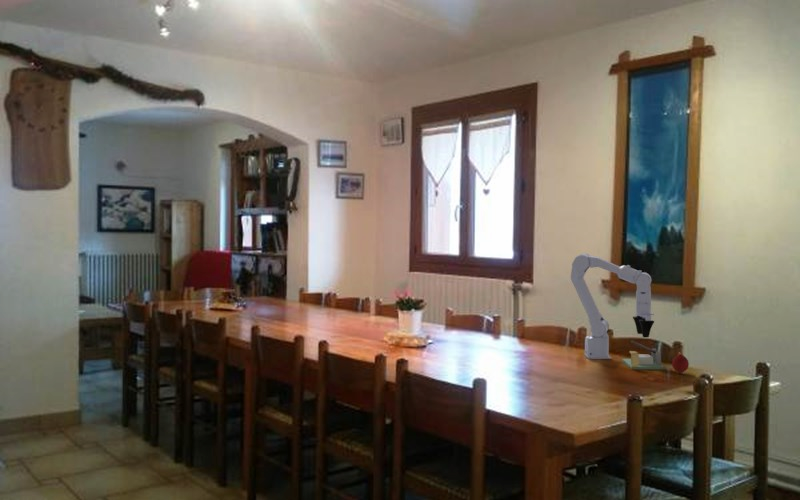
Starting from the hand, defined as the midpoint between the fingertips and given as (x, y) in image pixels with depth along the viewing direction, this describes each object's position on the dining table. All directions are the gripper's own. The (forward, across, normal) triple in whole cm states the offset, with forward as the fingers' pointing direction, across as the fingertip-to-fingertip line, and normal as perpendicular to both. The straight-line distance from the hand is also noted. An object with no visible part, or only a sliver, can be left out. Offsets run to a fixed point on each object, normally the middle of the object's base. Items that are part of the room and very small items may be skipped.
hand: (643, 335), depth 276 cm
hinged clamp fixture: (+10, -8, +2) cm, 13 cm away
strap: (+4, -8, +2) cm, 9 cm away
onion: (+11, -21, -8) cm, 25 cm away
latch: (+9, -13, +7) cm, 18 cm away
